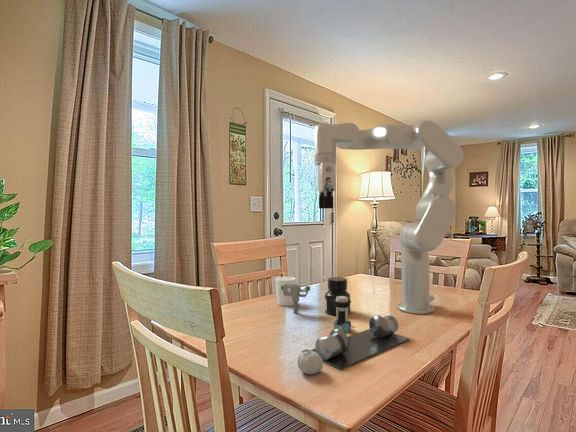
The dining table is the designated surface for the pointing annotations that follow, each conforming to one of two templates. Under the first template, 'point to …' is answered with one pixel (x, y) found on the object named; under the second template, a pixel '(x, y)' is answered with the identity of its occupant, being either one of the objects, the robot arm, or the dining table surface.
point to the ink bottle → (335, 293)
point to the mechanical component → (294, 293)
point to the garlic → (309, 362)
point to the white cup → (281, 298)
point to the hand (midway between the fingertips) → (325, 208)
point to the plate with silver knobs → (359, 343)
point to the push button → (342, 314)
